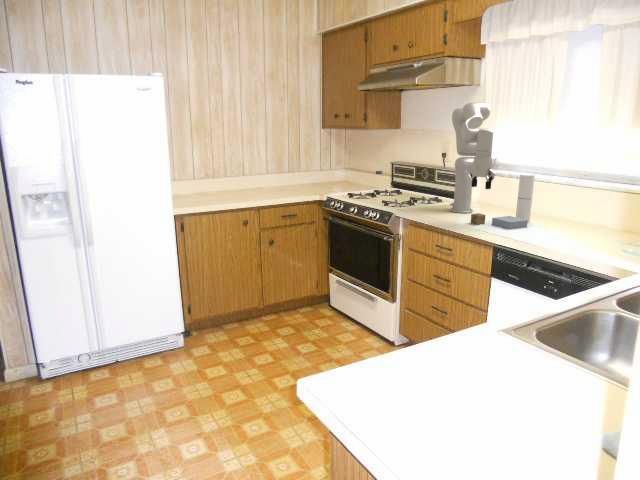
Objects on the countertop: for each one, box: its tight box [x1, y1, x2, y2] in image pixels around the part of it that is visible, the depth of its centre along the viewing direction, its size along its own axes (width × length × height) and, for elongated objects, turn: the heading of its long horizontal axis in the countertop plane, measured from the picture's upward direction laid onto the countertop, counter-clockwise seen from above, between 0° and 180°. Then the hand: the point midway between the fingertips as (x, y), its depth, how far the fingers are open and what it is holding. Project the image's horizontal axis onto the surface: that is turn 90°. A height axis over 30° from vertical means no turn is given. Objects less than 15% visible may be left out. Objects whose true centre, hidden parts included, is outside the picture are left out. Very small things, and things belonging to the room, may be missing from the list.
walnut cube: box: [470, 212, 486, 226], centre depth 259 cm, size 5×5×5 cm
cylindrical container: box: [515, 173, 536, 223], centre depth 263 cm, size 7×7×25 cm
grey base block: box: [491, 215, 529, 230], centre depth 255 cm, size 12×12×4 cm
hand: (480, 187), depth 255 cm, fingers open, 9 cm apart
